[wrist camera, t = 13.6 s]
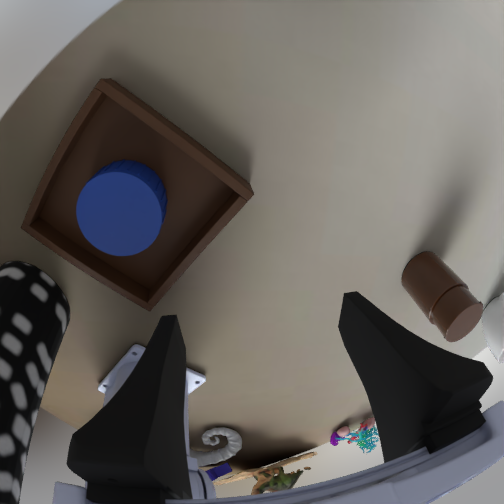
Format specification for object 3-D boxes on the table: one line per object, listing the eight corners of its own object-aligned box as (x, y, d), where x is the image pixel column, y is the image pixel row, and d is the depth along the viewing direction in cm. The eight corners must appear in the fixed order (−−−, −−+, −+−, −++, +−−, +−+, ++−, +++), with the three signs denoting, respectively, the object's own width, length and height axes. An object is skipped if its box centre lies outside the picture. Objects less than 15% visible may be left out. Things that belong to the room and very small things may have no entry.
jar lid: (161, 152, 17) (154, 163, 15) (173, 231, 20) (170, 252, 18) (81, 167, 17) (65, 179, 15) (99, 241, 20) (88, 261, 17)
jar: (415, 297, 27) (454, 349, 21) (393, 279, 26) (436, 335, 19) (444, 264, 26) (489, 312, 20) (425, 242, 24) (476, 293, 18)
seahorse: (224, 419, 31) (82, 455, 28) (256, 467, 34) (130, 497, 32) (218, 391, 36) (88, 429, 33) (248, 442, 39) (131, 473, 37)
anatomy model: (346, 444, 34) (334, 465, 37) (396, 429, 35) (381, 452, 38) (334, 416, 39) (325, 439, 41) (382, 404, 40) (369, 428, 43)
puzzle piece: (218, 467, 33) (225, 477, 32) (232, 458, 43) (237, 466, 42) (157, 491, 31) (163, 501, 30) (183, 480, 41) (187, 487, 41)
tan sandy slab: (273, 493, 47) (266, 460, 51) (335, 486, 40) (326, 447, 44) (198, 512, 35) (190, 471, 40) (263, 517, 28) (252, 466, 33)
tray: (152, 295, 23) (150, 311, 21) (32, 216, 18) (20, 227, 17) (250, 184, 20) (254, 194, 18) (110, 78, 15) (100, 78, 13)
